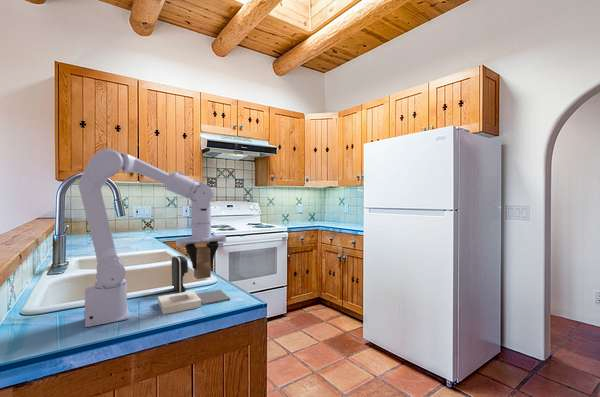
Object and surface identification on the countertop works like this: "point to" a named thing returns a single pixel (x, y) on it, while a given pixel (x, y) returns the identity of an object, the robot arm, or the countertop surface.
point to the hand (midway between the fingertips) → (202, 267)
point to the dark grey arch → (179, 272)
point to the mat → (212, 297)
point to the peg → (202, 263)
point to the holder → (179, 302)
